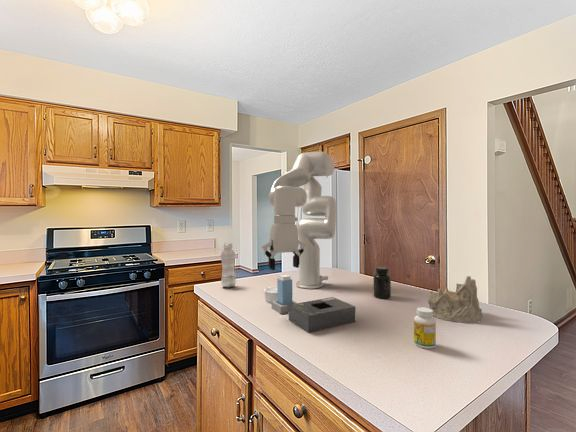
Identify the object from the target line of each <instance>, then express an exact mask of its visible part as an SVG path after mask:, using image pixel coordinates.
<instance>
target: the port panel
mask: <svg viewBox="0 0 576 432" xmlns="http://www.w3.org/2000/svg"><path fill="white" fill-rule="evenodd" d="M288 321H289V322H291V323H293V324H294V325H295V326H297V327H298V328H300V329H302V330H303V331H304V332H306V333H313V332H317V331H323V330H326V329H331V328H335V327H339V326H343V325H347V324H353V323H355V322H356V306H355V305H352V304H350V303H348V302H346V301H344V300H340V299H338V298H337V297H333V296H331V297H326V298H321V299H320V298H319V299H314V300H308V301H303V302H296V304H291V305H289V312H288Z"/></svg>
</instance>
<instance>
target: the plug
mask: <svg viewBox="0 0 576 432" xmlns="http://www.w3.org/2000/svg"><path fill="white" fill-rule="evenodd" d="M276 285H277V286H276V287H277V303H278V304H280V305H288V304H292V300H293V278H292V279H291V275H288V274H280V275H278V278H277V283H276Z"/></svg>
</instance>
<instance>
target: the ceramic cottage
mask: <svg viewBox="0 0 576 432" xmlns="http://www.w3.org/2000/svg"><path fill="white" fill-rule="evenodd" d="M476 283H477V282H476V279H475V278H472V277H471V275H467V276H466V278H465V281H464V283H456V287H455V288H456V290H455V291H451V290H449V289H448V288H447V287H446V288H445V289H444V291H443V288H437V292H434V291H430V292H429V295H428V298H427V299H428V300H427V303H428V305H429V309H432V310H433V316H432V317H433V318H436V319H441V320H443V321H449V322H452V323H454V322H455V323H459V322H461V323H460V324H475V323H474V322H476V323H479V322H478V321H480V322H481V319H482V317H483V313H482V311H483V310H482V308H481V307H480V300H479V299H478V287H477V284H476Z"/></svg>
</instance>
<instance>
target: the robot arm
mask: <svg viewBox="0 0 576 432" xmlns="http://www.w3.org/2000/svg"><path fill="white" fill-rule="evenodd" d="M334 172H335V162H334V159H333V158H332V156H330V155H329V154H328V153H327V152H325V151H306V152H302V153H300V154H298V156H297V157H296V158H295V160H294V164H293V166H292V168H291V170H289V171H287V172H285V173H284V174H283V175H281V176H279V177H277V178H276V180H274V182H273V184H272V186H271V188H270V190H269V194H268V199H269V200H268V201H269V203H270V205H272V207H273V224H271V227H270V230H269V231H270V232H269V233H270V234H269V241H268V242H266V243H265V244H263V245H261V249H262V251H263V254H264V255H265V256H266V257H267V258H268V267H269V270H272V271H274V270H276V259H275V257H276V255H277V254H279V253H292V254H293V256H292V267H293V268H297V269H298V268H299V269H298V270H299V272H298V275H299V276H298V277H299V281H296V282H295V286H296V287H298V288H301V289H307V290H308V289H309V290H311V289H312V290H313V289H318V288H319V289H320V288H322V287H323V286H324V283H323V282H324V281H328V280H329V276H328V275H321V273H320V272H321V271H320V270H321V268H320V266H321V265H320V263H321V262H320V260H321V259H320V258H321V251H320V250H321V249H320V246H319V244H318V242H317V241H316V240H331V239H333V238H334V236H335V233H336V222H337V202H336V199H335V198H334V197H333V196H330V195H322V186H321V184H320V182H319V181H318V180H317V178H315V177H329V176H332V175H333V174H334ZM302 187H303V188H302ZM301 207H302V213H303V214H304V216H309V217H305V218H301V219H300V220H299V218H298V217H296V208H301ZM318 217H319V218H318ZM320 217H321V218H320ZM322 217H323V218H322ZM324 217H325V218H324ZM296 222H297V224H296ZM268 249H269V250H268Z"/></svg>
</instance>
